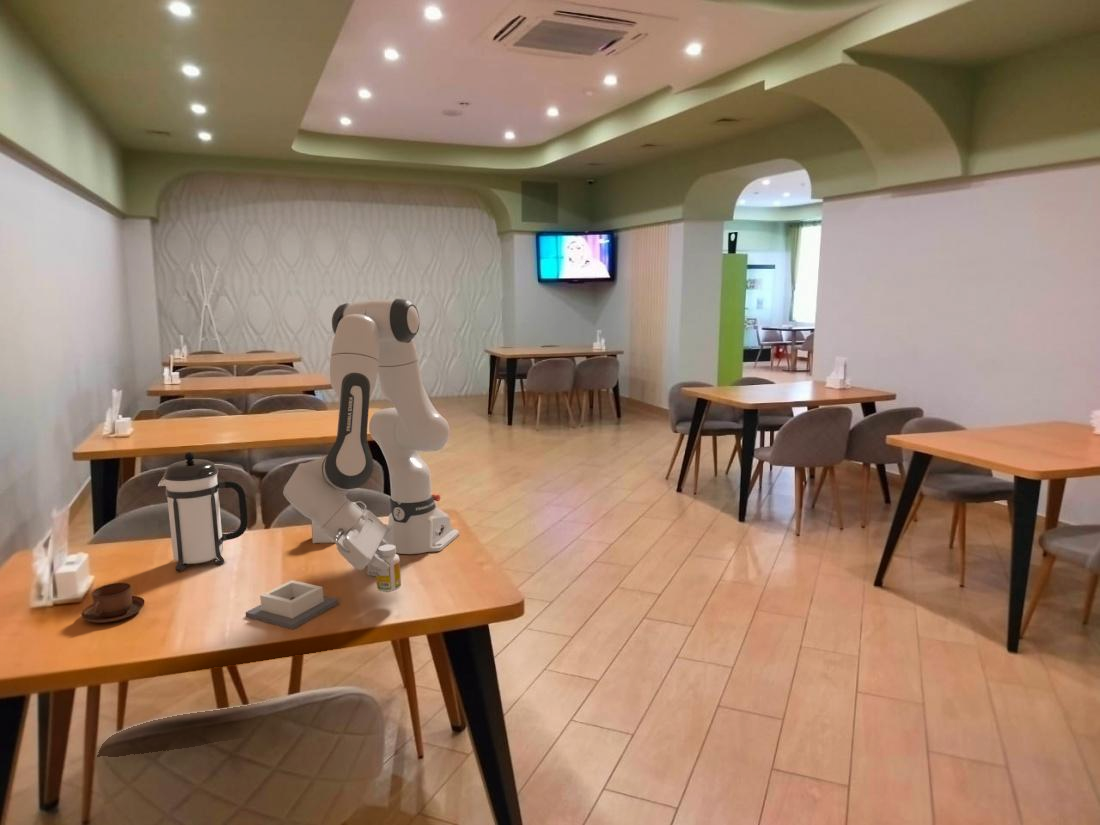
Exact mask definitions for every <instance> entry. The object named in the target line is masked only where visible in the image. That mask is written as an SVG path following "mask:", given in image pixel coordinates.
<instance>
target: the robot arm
mask: <svg viewBox="0 0 1100 825" xmlns="http://www.w3.org/2000/svg"><path fill="white" fill-rule="evenodd" d="M331 328H332V331H333V334H334V335H333V336H334V337H333V341H332V345H331V346H332V347H331V352H330V360H329V378H330V386H331V388H332V389H333V391H334V392H335V393H336V395H337V398H338V404H339V405H338V407H339V408H338V417H337V418H338V419H337V420H338V421H337V430H336V431H337V433H336V438H335V441H334V444H333V445H332V447H331V448H330V450H329V452H328V453H327V454H326V455H324V456H322V457H319V458H316V459H314V460H311V461H308V462H304V463H303V462H302V463H298V464H297V465H296V466H295V467H294V468H293V469H292V470H291V472H290V473H289V475H288V476H287V478H286V479H285V481H284V482H283V485H282V494H283V496H284V497H285V499H286V500H287V502H289V503H290V505H292V506H293V507H294V509H296V510H297V511H298V512H299V513H300V514H302V515H303V516H304V517H305V518H308V519H309V520H310V521H311V520H313V521H314V522H315V523H316V525H317V526H318V528H319V529H320V530H321V531H323V532H324V533H325V534H326V535H327V536H329V537H330V538H331V539H332V540H333V541H334V542H333V543H335V545H336V549H337V551H338V552H339V554H340V555H341V556H342V557H343V558H344V559H345V560H346V561H347V562H348V563H349V564H350V565H351V566H352V567H354V568H355V569H357V570H359V571H362V570H364V569H365V567H367V564H368V563H369V564H371V565H373V566H375V567H378V568H380V569H381V570H382V571H383V572H385V571H386V570H387V569H388V568H389V566H390V563H388V562H387V561H386V560H382V559H381V558H379V557H378V555H377V554H376V553H375V552H376V550H377V548H378V547H380V546H382V545H388V543H387V541H386V540H385V539H383V537H384V535H385V533H386V531H387V529H386V527H385V525H384V522H382V520H380V519H379V518H378V517H377V516H376V515H375V514H374V513H373V512H372V511H370V510H369V509H367V505H366V504H365V503H364V502H363V501H360V500H359V501H355V502H354V501H351V500H349V499H348V498H347V496H346V495H347V493H348V492H349V491H352V490H354V489H357V488H360V487H362V486H363V485H365V484H366V483H367V482H368V481H369V479H370V478H371V476H372V474H373V472H374V466H375V464H374V459H373V454H372V452H371V449H370V447H369V443H368V432H369V435H370V437H371V438H372V439H373V441H374V442H376V443H377V445H378V446H379V448H380V450H381V452H382V455H383V457H384V459H385V461H386V464H387V469H388V473H389V483H390V484H389V485H390V498H389V505H388V506H389V512H390V514H389V515H388V523H387V525H392V528H393V545H395V547H396V553H395V554H402V555H416V554H417V555H418V554H423V553H427V552H428V553H430V552H432V553H433V552H434V553H435V552H440V551H442V550H443V549H445V548H446V547H447V546H448V545H449V544H450V543H451V542H452V541H453V540H455V539H456V538H457V537H458V536H459V535H460V531H459V529H456V528H453V527H452V525H451V519H450V516H449V514H447V513H446V512H444V511H443V510H441V509H440V508H438V507H437V505H436V503H435V502H440V501H441V499H442V498H441V494H439V493H437V494H436V493H432V479H431V478H432V477H431V476H432V475H431V469H430V468H429V466H428V464H427V463H426V462H425V461H424V459H423V458H422V457H421V456H420V454H419V452H421V453H431V452H438V451H441V450H442V449H444V447H446V446H447V444H448V442H449V439H450V435H451V434H450V433H451V429H450V426H449V423H448V421H447V419H446V418H445V417H443V416H442V415H441V414H440V413H439V412H438V410H437V409H436V408H435V407H434V405H433V403H432V402H431V400H430V398H429V396H428V393H427V391H426V388H425V386H424V383H423V378H422V377H423V376H422V372H421V367H420V360H419V355H418V350H417V345H416V342H415V337H416V335H417V334H418V332H419V329H420V315H419V311H418V309H417V307H416V305H415V304H413V302H412V301H410V300H408V299H404V298H395V299H389V298H388V299H387V298H386V299H385V298H384V299H383V298H379V299H378V298H377V299H376V298H374V299H371V300H362V301H357V302H346V303H342V304H340V305H338V306H337V307H336V309H335V311H334V312H333V314H332V317H331ZM377 378H378V379H379V386H380V390H381V392H382V395H383V396H384V397H385V398H386V399H387V400H388V401H389V402H391V405H393V407H389V408H388V407H387V408H382V409H377V410H375V412H374V413H373V414H372V416H371V417H370V419H369V409H370V407H369V406H370V401H371V397H372V394H373V393H374V392H373V391H374V389H375V386H376V382H377ZM368 422H369V423H368Z"/></svg>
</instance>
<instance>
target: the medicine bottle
mask: <svg viewBox="0 0 1100 825" xmlns="http://www.w3.org/2000/svg"><path fill="white" fill-rule="evenodd" d="M310 521H311V522H310V523H311V537H312V538H311V539H312V543H313V544H327V543H329V544H330V543H331V544H332V543H335V542H334V541H333V540H332V539H331V538H330V537H329V536H327V535H326V534H325V533H324V532H323V531H321V530H320V529H319V528H318V526H317V525H316V523H315V522H314V521H313V520H311V519H310Z"/></svg>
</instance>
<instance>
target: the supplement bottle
mask: <svg viewBox="0 0 1100 825" xmlns="http://www.w3.org/2000/svg"><path fill="white" fill-rule="evenodd" d="M378 555H379V556H378V557H379V558H381V559H382V560H386V561H387V562H388V563H390V566H389V568H388V569H387V570H386V571H385V572H383V571H382V570H381V569H380V568H378V567H376V576H375V577H376V588H377V590H378V591H380V592H383V593H390V592H395V591H397V590H399V589H400V588H401V586H402V579H401V578H402V577H401V563H400V561H401V560H400V556H399V554H398V553H396V547H395V545H390V544H388V545H382V546H380V547H378Z"/></svg>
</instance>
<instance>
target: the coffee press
mask: <svg viewBox="0 0 1100 825" xmlns="http://www.w3.org/2000/svg"><path fill="white" fill-rule="evenodd" d="M184 458H185V460H180V461H176V462H173V463H171V464H170V465H169V466H168V467H166V469H165V472H164V473H163V475H162V476H163V477H162V478H161V479H160V481H159V482H158V485H157V486H158V487H164V486H165V496H166V498H167V508H168V517H169V518H168V519H169V529H170V537H171V538H170V539H171V546H172V548H171V549H172V556H173V560H175V561H176V562H177V564H176V566H175V571H176V572H181V571H182V572H184V571H185V569H186V567H187V566H188V565H192V564H193V565H195V564H202V563H207V562H209V561H213V562H214V563H215V564H216V565H217V566H220V565H223V564H224V563H225V559H224V558H223V555H222V553H223V551H224V545H223V543H224V542H226V541H229V540H233V539H238V538H239V537H241V536H243V534H244V533H246V530H247V528H248V508H247V499H246V494H245V490H244V489H243V487H242V486H241V485H240V484H239V483H238V482H236V481H232V480H225V481H221V482H219V481H218V473H219V468H218V467H217V466H216V464H215V463H214V462H213V461H210V460H207V459H200V458H199V459H198V458H196V459H195V454H194V452H192V451H187V453H185V454H184ZM224 488H225V489H233V490H234V491H235V492H236V493H237V496H238V506H239V507H238V508H239V518H240V520H239V522H240V524H239V526H238V528H237V530H234V531H233V532H228V533H223V531H222V521H221V520H222V519H221V510H220V509H221V508H220V506H221V505H220V496H219V490H220V489H224ZM182 572H181V573H182Z"/></svg>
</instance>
